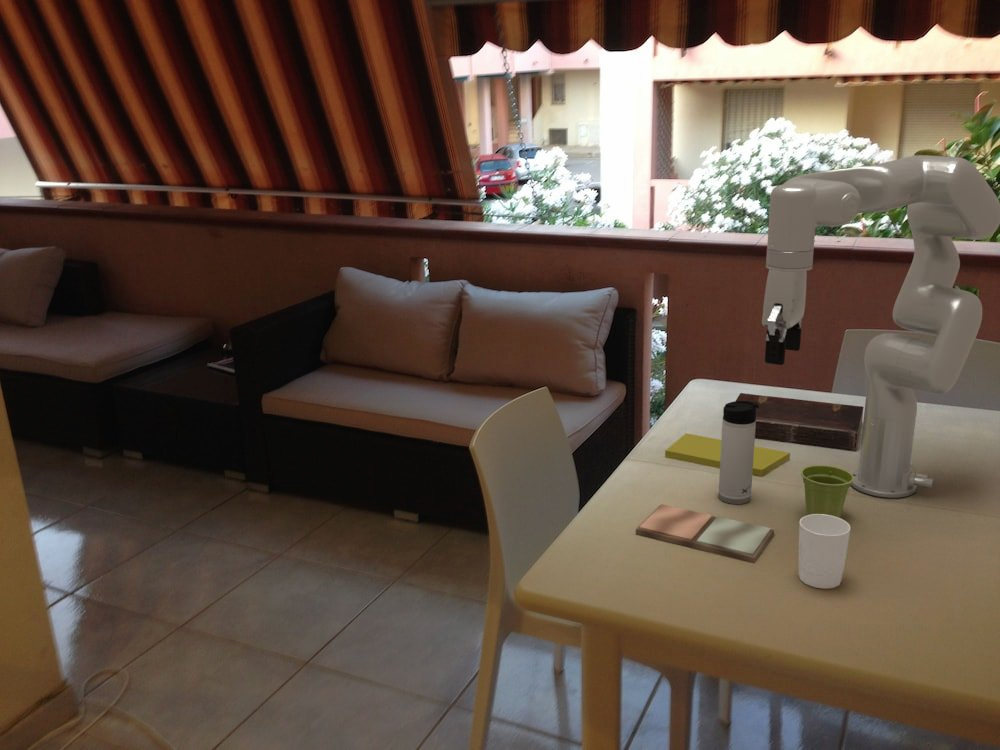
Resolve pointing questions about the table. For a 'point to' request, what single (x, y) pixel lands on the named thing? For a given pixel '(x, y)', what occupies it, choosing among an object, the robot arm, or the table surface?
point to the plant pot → (825, 489)
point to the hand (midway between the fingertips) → (782, 356)
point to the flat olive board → (710, 454)
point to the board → (706, 532)
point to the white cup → (822, 550)
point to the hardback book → (806, 422)
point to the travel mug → (737, 451)
